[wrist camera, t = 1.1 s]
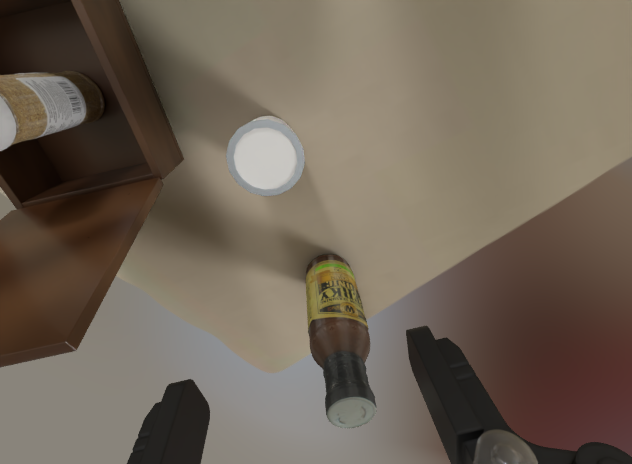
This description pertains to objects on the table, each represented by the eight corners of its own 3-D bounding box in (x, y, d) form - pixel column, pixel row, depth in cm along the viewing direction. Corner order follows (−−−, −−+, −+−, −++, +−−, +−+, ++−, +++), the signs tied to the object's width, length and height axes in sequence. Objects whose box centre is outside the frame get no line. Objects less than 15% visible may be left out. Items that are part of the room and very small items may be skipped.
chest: (-41, 18, 27) (-133, 5, 21) (111, -18, 26) (62, -42, 21) (64, 186, 34) (18, 212, 28) (184, 159, 34) (163, 179, 28)
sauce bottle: (357, 258, 42) (410, 398, 24) (338, 293, 44) (374, 443, 27) (313, 244, 40) (335, 383, 23) (296, 282, 43) (304, 433, 25)
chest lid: (-210, 402, 15) (-190, 409, 15) (65, 341, 15) (76, 351, 15) (11, 210, 27) (18, 217, 28) (159, 176, 27) (163, 184, 28)
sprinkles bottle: (47, 68, 28) (-124, 70, 16) (101, 73, 29) (-26, 79, 17) (61, 121, 30) (-82, 157, 18) (112, 125, 31) (4, 162, 19)
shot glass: (308, 163, 35) (314, 184, 29) (250, 181, 36) (243, 205, 29) (289, 100, 32) (291, 108, 26) (226, 120, 32) (212, 133, 26)
